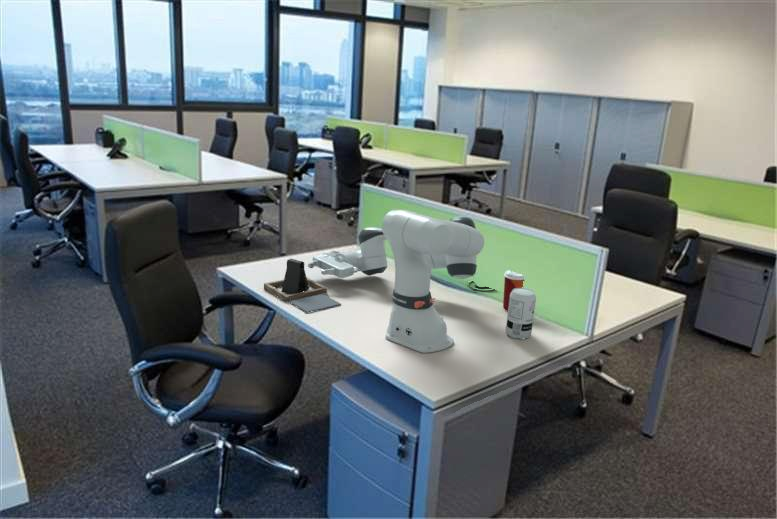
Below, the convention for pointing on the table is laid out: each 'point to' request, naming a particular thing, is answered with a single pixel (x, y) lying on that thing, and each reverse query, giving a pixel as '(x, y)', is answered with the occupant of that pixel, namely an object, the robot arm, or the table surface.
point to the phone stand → (295, 277)
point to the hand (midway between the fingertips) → (315, 269)
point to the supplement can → (520, 313)
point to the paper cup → (511, 285)
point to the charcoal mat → (314, 303)
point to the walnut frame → (318, 290)
